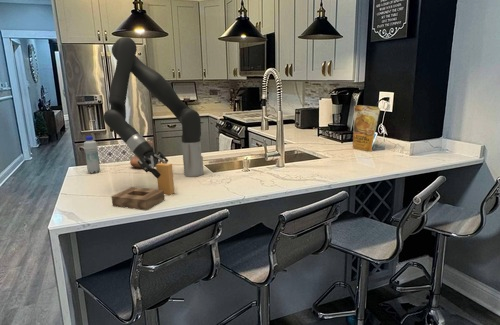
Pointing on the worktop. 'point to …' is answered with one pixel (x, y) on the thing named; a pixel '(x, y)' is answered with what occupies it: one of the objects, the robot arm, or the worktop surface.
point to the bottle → (91, 155)
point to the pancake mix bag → (364, 126)
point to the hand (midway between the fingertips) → (164, 174)
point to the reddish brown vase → (135, 159)
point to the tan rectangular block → (165, 178)
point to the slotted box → (138, 198)
